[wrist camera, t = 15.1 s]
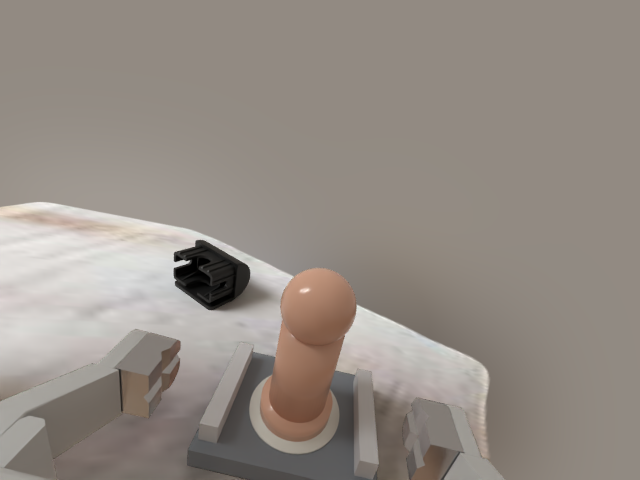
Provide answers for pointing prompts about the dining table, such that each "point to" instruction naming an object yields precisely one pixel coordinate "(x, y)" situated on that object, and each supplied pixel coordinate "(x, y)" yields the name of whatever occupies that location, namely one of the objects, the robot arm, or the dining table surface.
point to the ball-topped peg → (307, 354)
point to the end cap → (210, 275)
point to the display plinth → (274, 452)
